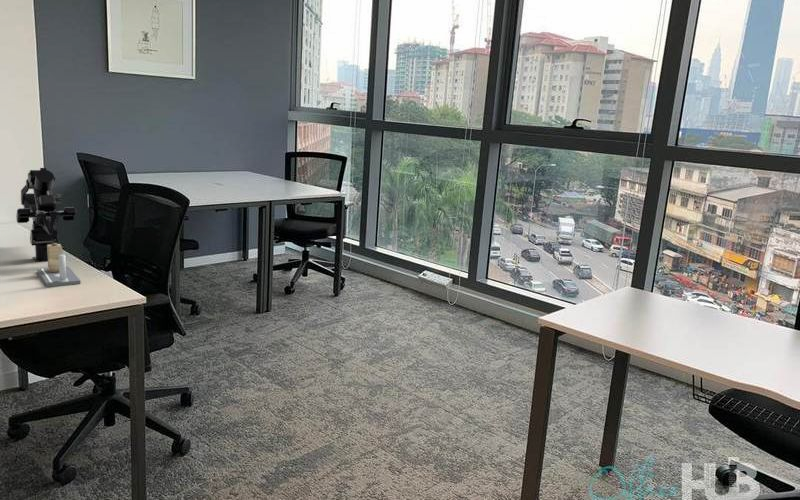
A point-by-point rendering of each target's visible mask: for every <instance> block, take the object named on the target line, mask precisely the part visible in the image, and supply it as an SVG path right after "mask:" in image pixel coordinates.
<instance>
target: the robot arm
mask: <svg viewBox="0 0 800 500" xmlns="http://www.w3.org/2000/svg"><path fill="white" fill-rule="evenodd" d="M54 181H56V176H55V175H54V174H53V172H51V171H50V170H48V169H47V168H46V167H40V168H39V169H30V170H29V172H28V173H27V179H25V185H24V186H23V188H22V189H21V190H20V205H22V207H21V208H20V207H19V208H17V210H16V222H17V223H18V224H24V223H25V224H26V223H28V222H30V219H32V225H31V227H32V228H31V229H30V233H29V243H30V245H31V246H32V247H33V246H34V249H35V256H32V260H34V261H35V262H38V263H40V262H48V253H47V245H52V243H57V244H59V231H58V230H57V228H55V225H56V224H58V223H59V222H60V217H62V220H63V221H65V222H74V221H75V220H76V217H77V215H78V211H77V208H76V207H74V206H64V207H63V209H62V210H57V204H61V203H62V194H61V193H54V194H53V193H52V189H53V186H54ZM30 190H32V191H33V193H31V192H30V193H28V192H29V191H30ZM48 218H49V219H48Z"/></svg>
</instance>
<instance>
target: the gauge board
mask: <svg viewBox="0 0 800 500" xmlns="http://www.w3.org/2000/svg"><path fill="white" fill-rule="evenodd" d="M66 261H67V260H66V254H63V253H62V254H61V255H59V271H58V272H50V271H49V270H48V267H44V268H37V269H36V271H37V272H36V273H37V274H38V275H39V277H40V278H41V280H42V282H43V283H44V284H45V286H46V287H47V288H50V287H51V288H52V287H60V286H61V287H63V286H72V285H73V286H74V285H81V279H80V278H79V277H78V275H76V274H75V272H74V270H72V269H71V268H70V266H69V265H67V264H66V263H67V262H66Z"/></svg>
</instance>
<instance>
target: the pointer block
mask: <svg viewBox="0 0 800 500" xmlns="http://www.w3.org/2000/svg"><path fill="white" fill-rule="evenodd" d="M47 253H48V261H47V268H48V270H49V271H50V272H58V271H59V255H61V254H63V245H61V243H52V245H47Z"/></svg>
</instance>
